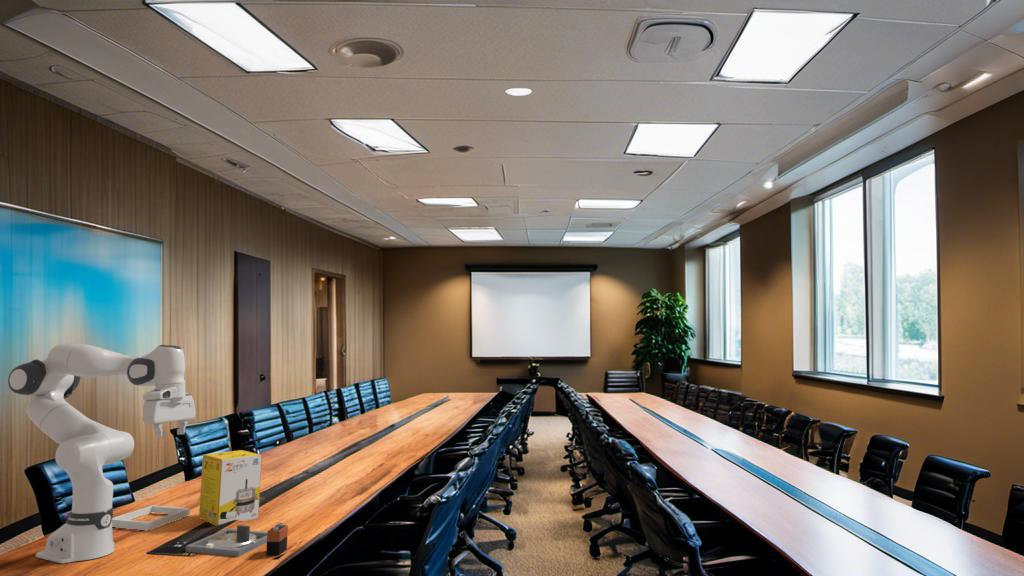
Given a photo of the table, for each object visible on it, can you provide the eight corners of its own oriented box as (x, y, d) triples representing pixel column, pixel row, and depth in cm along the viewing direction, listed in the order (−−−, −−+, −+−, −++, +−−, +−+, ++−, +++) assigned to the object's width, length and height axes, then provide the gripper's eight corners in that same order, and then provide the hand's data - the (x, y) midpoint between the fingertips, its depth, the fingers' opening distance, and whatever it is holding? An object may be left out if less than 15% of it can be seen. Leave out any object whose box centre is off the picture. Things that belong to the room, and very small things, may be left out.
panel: (185, 555, 199) (186, 542, 199) (226, 537, 218) (226, 525, 219) (238, 560, 195) (239, 548, 195) (275, 541, 214) (276, 530, 215)
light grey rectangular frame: (107, 527, 228) (108, 519, 228) (151, 512, 248) (152, 505, 248) (147, 531, 224) (148, 522, 224) (189, 516, 244) (189, 508, 245)
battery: (287, 553, 203) (288, 522, 204) (278, 560, 196) (280, 528, 197) (274, 552, 203) (275, 521, 204) (265, 559, 196) (266, 527, 197)
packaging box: (238, 510, 253) (242, 449, 256) (258, 518, 243) (261, 454, 246) (198, 518, 241) (202, 454, 243) (217, 526, 231) (221, 459, 233)
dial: (197, 547, 203) (198, 527, 203) (233, 535, 216) (234, 516, 217) (230, 554, 197) (232, 533, 198) (265, 541, 211) (266, 521, 211)
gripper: (183, 392, 211) (184, 433, 209) (138, 395, 191) (138, 440, 189) (200, 391, 210) (200, 431, 208) (156, 393, 190) (156, 438, 188)
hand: (170, 436), depth 198 cm, fingers open, 8 cm apart
